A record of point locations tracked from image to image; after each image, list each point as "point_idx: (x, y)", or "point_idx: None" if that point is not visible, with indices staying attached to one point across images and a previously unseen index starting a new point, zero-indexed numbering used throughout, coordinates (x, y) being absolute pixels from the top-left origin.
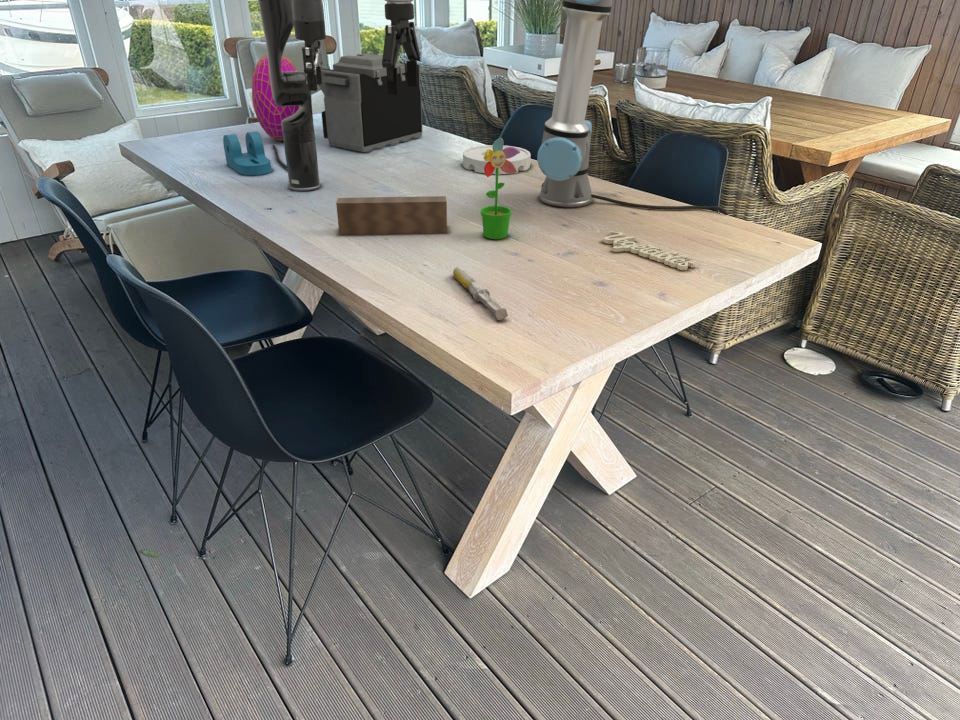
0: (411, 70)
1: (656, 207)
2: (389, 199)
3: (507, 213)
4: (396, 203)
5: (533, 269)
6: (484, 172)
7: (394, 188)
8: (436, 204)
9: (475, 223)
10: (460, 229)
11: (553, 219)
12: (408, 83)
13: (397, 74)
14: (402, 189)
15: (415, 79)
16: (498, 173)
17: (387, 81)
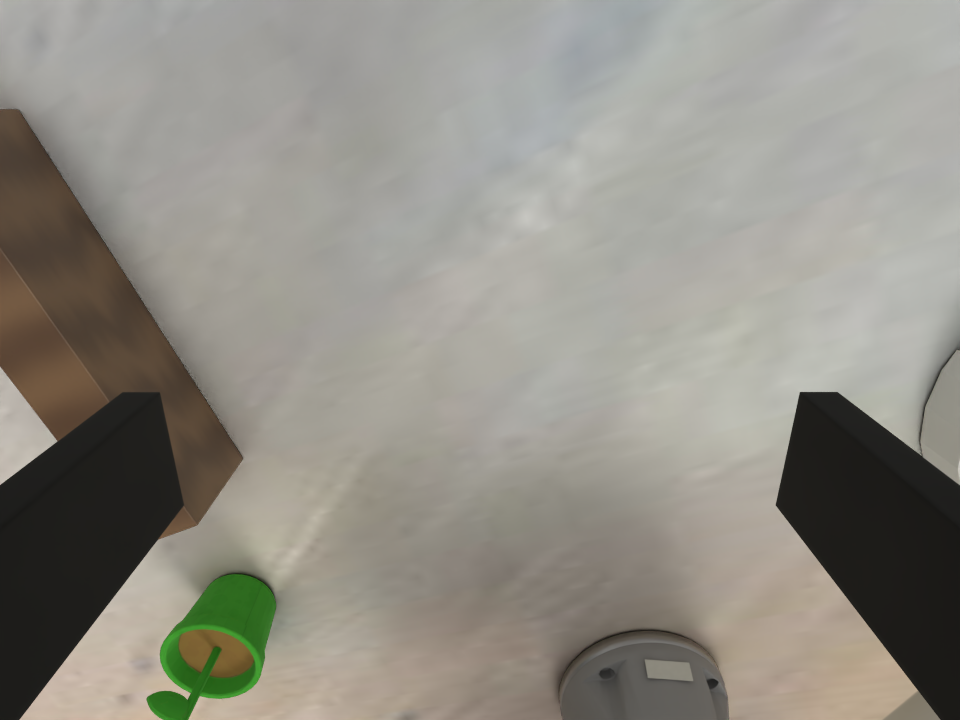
0: (922, 597)
1: None
2: (31, 348)
3: (201, 694)
4: (19, 387)
5: (79, 713)
6: (933, 397)
7: (625, 83)
8: None
9: (320, 524)
10: (247, 501)
11: (447, 691)
12: (819, 418)
13: (23, 710)
14: (619, 130)
15: (824, 552)
16: (923, 450)
17: (10, 482)
